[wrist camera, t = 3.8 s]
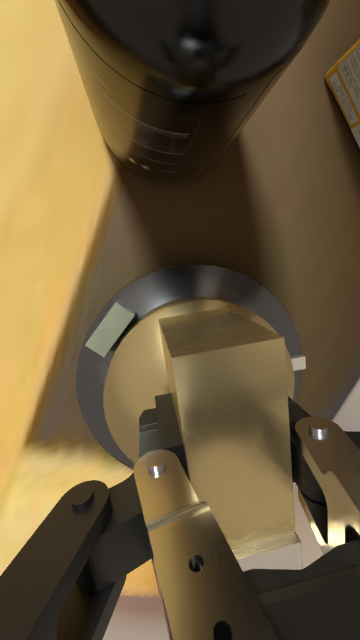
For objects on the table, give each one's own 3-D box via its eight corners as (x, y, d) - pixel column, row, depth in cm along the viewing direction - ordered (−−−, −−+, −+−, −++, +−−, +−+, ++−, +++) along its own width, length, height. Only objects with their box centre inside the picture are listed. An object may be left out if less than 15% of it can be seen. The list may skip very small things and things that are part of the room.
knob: (89, 312, 13) (36, 365, 6) (274, 283, 14) (398, 302, 7) (125, 476, 15) (113, 650, 8) (283, 441, 16) (388, 570, 9)
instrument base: (41, 394, 16) (19, 424, 13) (168, 218, 15) (175, 206, 12) (205, 486, 18) (218, 528, 15) (320, 342, 17) (357, 358, 14)
